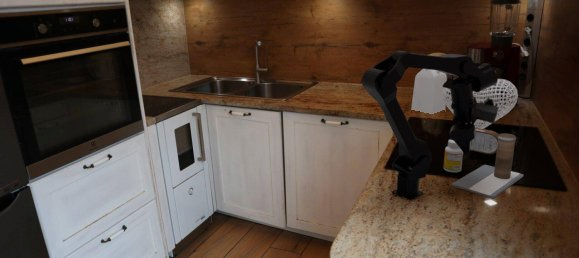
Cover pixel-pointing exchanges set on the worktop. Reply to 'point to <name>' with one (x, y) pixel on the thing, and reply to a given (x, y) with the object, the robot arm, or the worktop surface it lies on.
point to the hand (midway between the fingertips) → (468, 146)
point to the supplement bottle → (453, 157)
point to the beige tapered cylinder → (504, 156)
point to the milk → (429, 91)
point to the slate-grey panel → (486, 182)
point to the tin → (484, 141)
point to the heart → (501, 113)
